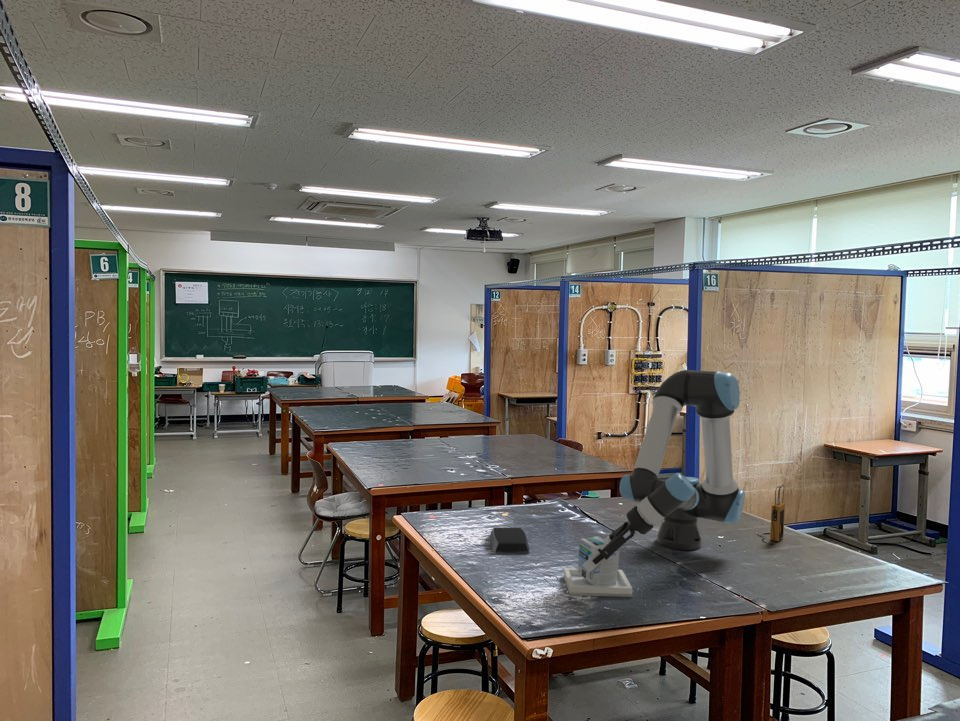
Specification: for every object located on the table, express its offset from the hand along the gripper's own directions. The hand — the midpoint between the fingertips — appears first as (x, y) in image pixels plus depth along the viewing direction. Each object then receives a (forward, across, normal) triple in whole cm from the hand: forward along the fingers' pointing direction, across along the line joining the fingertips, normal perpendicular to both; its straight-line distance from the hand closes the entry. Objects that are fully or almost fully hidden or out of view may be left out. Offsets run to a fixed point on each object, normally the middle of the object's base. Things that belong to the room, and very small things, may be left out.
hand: (590, 560), depth 194 cm
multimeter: (-30, +73, -41) cm, 89 cm away
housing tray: (+4, 0, -6) cm, 7 cm away
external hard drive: (+29, +25, +18) cm, 42 cm away
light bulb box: (+2, 0, -5) cm, 6 cm away
